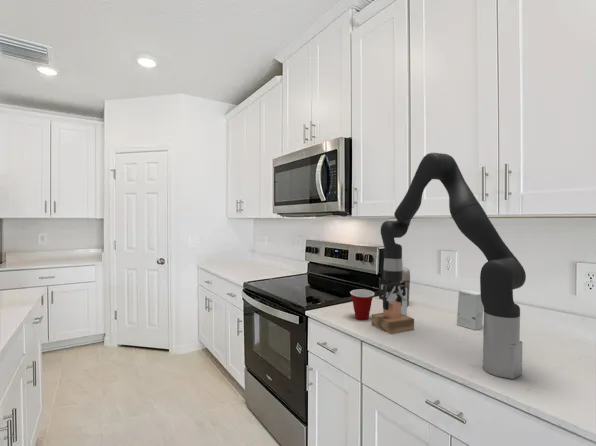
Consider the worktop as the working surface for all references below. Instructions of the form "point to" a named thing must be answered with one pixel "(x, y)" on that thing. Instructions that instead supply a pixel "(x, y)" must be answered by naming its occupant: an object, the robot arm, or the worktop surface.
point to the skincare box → (470, 309)
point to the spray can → (406, 280)
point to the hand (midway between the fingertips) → (392, 308)
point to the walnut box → (393, 323)
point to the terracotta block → (393, 310)
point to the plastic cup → (362, 303)
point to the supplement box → (404, 302)
